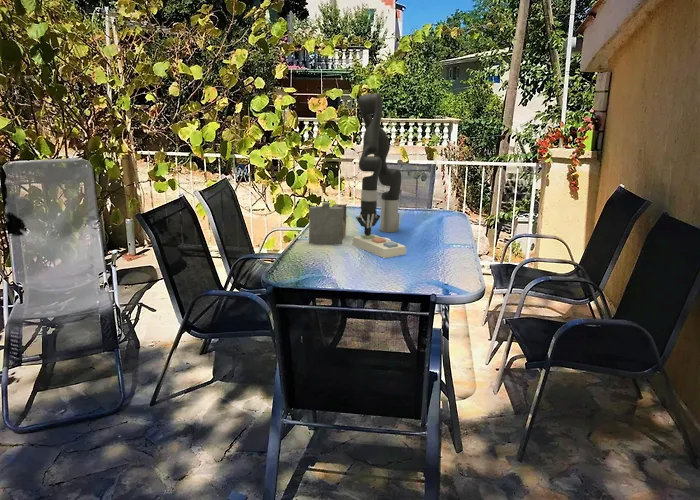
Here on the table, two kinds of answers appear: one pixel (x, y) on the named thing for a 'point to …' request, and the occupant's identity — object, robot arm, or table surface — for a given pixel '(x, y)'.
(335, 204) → the coffee box
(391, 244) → the key slate
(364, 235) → the key sage
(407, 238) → the table surface
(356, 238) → the button panel
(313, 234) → the hip flask
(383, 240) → the key terracotta
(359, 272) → the table surface
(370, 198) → the robot arm
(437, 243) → the table surface
